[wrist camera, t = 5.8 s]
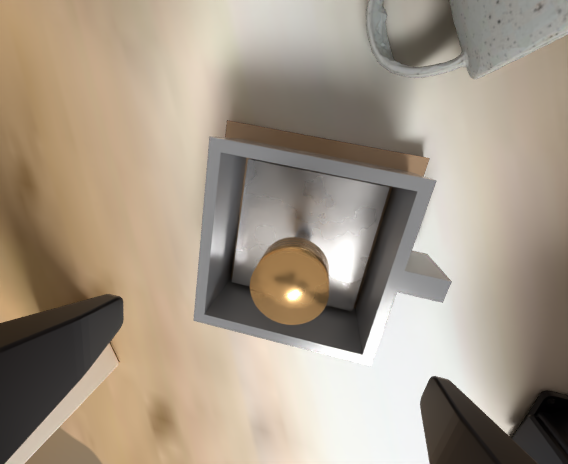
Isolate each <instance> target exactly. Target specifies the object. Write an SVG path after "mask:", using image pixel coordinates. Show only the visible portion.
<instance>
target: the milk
mask: <svg viewBox="0 0 568 464" xmlns="http://www.w3.org/2000/svg"><path fill="white" fill-rule="evenodd" d="M118 365H119V362H118V360H117V358H116V356H115V353H114V351H113V349H112V347H111V345H110V343H109V344H108V345H107V347H106V348H105V349H104V351H103V352H102V353H101V355H100V356H99V357H98V359H97V360H96V361H95V363H94V364H93V365H92V366H91V368H90V369H89V370H88V371H87V373H86V374H85V375H84V376H83V377H82V379H81V380H80V381H79V382H78V383H77V384H76V385H75V387H74V388H73V389H72V390H71V391H70V392H69V393H68V394H67V395H66V397H65V398H64V399H63V400H62V401H61V402H60V403H59V404H58V405H57V406H56V408H55V409H54V410H53V411H52V412H51V413H50V414H49V415H48V416H47V418H46V419H45V420H44V421H43V422H42V423H41V424H40V425H39V426H38V427H37V429H36V430H35V431H34V432H33V433H32V434H31V435H30V436H29V437H28V439H27V440H26V441H25V442H24V443H23V444H22V445H21V446H20V447H19V449H18V450H17V451H16V452H15V453H14V454H13V455H12V456H11V457H10V458H9V460H8V461H7V462H6V463H5V464H24V463H25V462H26V461H27V460H28V459H29V458H30V457H31V456H32V455H33V454H34V453H35V452H36V451H37V450H38V449H39V448H40V447H41V445H42V444H43V443H44V442H45V441H46V440H47V439H48V438H49V437H50V436H51V435H52V434H53V433H54V432H55V431H56V430H57V429H58V428H59V427H60V426H61V425H62V424H63V422H64V421H65V420H66V419H67V418H68V417H69V416H70V415H71V414H72V413H73V412H74V411H75V410H76V409H77V408H78V407H79V406H80V405H81V404H82V403H83V402H84V401H85V399H86V398H87V397H88V396H89V395H90V394H91V393H92V392H93V391H94V390H95V389H96V388H97V387H98V386H99V385H100V384H101V383H102V382H103V381H104V380H105V379H106V378H107V376H108V375H109V374H110V373H111V372H112V371H113V370H114V369H115V368H116V367H117V366H118Z"/></svg>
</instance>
